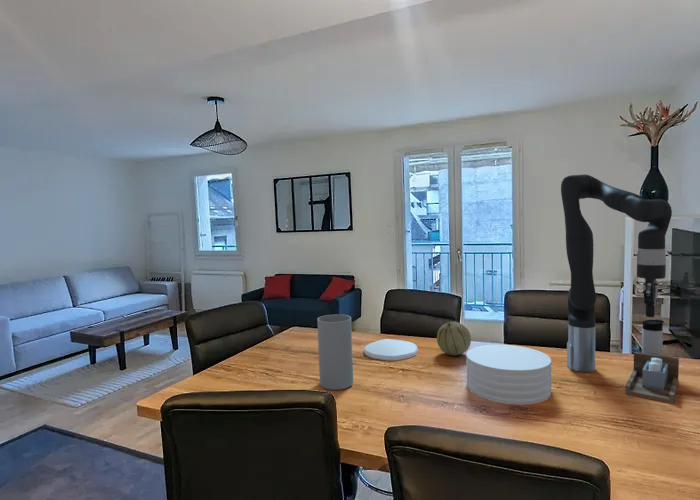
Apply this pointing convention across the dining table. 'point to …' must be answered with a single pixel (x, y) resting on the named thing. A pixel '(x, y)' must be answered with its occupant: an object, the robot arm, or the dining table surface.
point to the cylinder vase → (335, 351)
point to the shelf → (636, 388)
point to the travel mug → (652, 337)
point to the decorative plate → (391, 349)
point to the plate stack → (509, 374)
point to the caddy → (655, 374)
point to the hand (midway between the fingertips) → (650, 316)
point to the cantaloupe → (453, 338)
